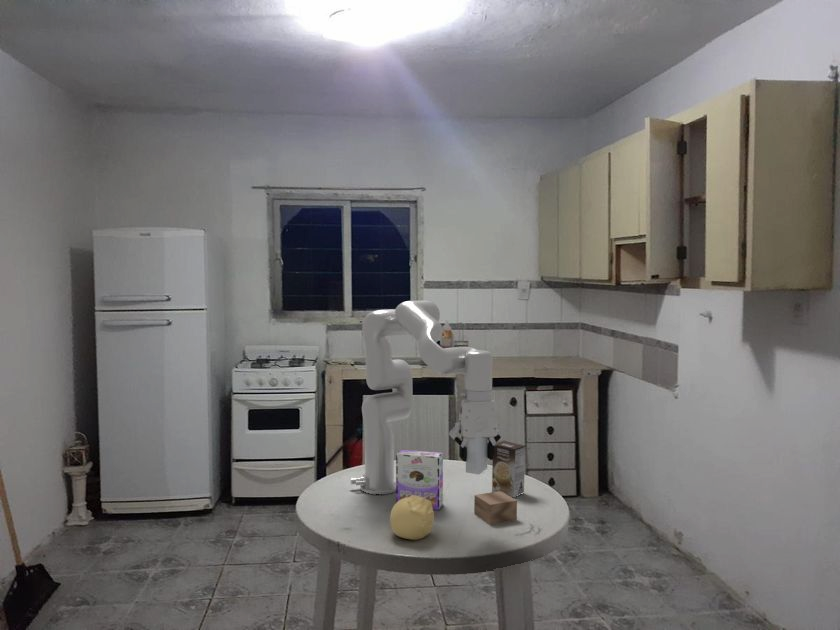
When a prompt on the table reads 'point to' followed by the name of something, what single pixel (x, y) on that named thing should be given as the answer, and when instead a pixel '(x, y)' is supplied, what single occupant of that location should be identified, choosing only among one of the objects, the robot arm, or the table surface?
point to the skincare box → (477, 454)
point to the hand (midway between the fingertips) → (476, 458)
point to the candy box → (420, 476)
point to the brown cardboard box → (495, 507)
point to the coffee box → (508, 468)
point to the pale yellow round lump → (412, 517)
